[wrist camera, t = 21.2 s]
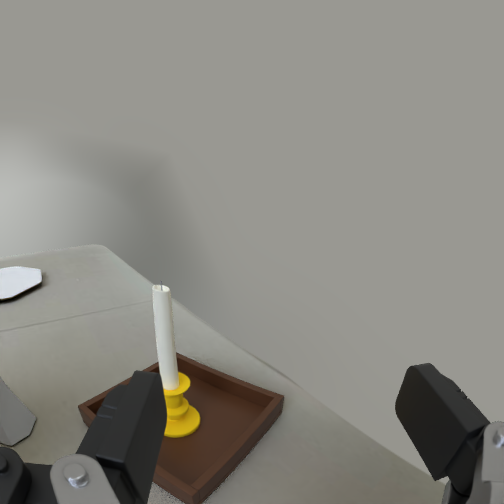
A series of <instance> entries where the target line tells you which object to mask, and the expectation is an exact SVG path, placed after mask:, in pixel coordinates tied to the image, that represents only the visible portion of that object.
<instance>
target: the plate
mask: <svg viewBox="0 0 504 504" xmlns="http://www.w3.org/2000/svg"><path fill="white" fill-rule="evenodd" d="M41 282H42V274H41V270H39V269H34V268H27V267H20V266H15V267H8V268H2V269H0V300H6V299H10V298H14V297H16V296H17V295H19V294H21V293H23V292H25V291H27V290H29V289H31V288H33V287H35V286H37V285H39V284H40V283H41Z"/></svg>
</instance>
